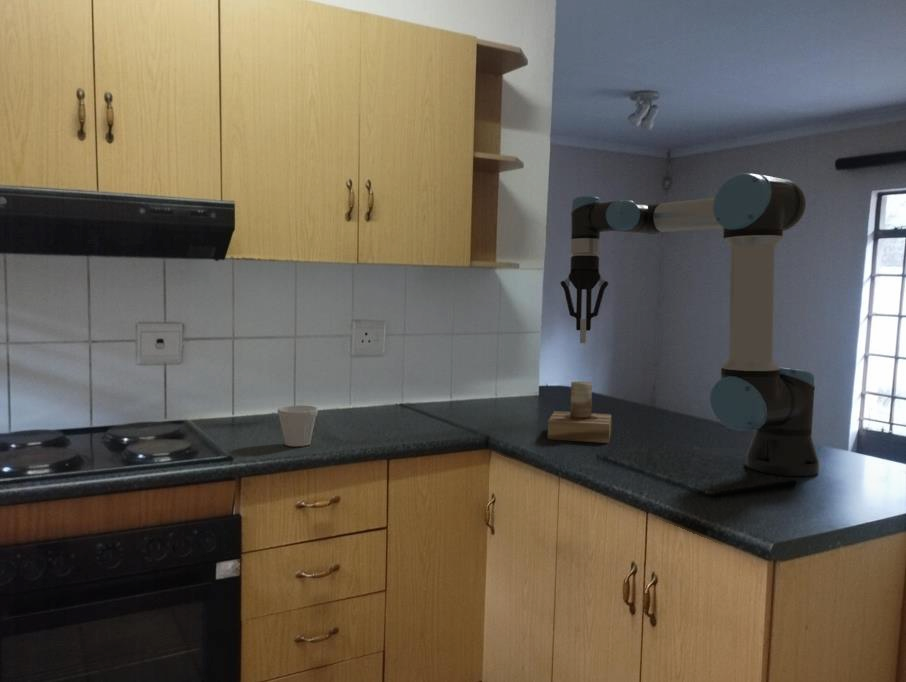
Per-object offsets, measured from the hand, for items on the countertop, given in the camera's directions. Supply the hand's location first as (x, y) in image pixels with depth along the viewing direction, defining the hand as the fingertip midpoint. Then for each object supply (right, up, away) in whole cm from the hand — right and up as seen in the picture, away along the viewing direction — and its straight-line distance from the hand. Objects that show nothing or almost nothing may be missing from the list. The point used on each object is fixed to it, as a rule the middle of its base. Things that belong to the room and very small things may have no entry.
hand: (583, 342), depth 193 cm
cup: (-75, -26, -13) cm, 80 cm away
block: (0, -26, +2) cm, 26 cm away
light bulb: (0, -25, +2) cm, 25 cm away
